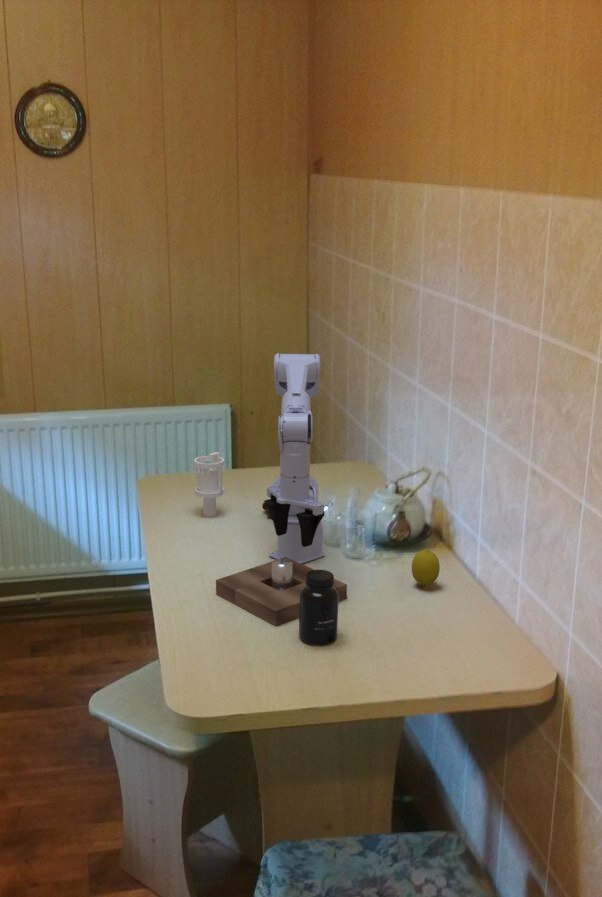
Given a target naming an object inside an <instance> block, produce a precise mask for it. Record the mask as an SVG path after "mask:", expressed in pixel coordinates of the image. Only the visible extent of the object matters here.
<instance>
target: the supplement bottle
mask: <svg viewBox="0 0 602 897" xmlns="http://www.w3.org/2000/svg"><path fill="white" fill-rule="evenodd" d="M334 576H335V575H334V573H333V572H331V571H329V570H325V569H314V570H312V571H309V572H308V573H307V575H306V586H305V587H304V588H303V589H302V590H301V592H300V610H299V619H298V636H299V639H301V640H302V641H303V642H304V643H306V644H309V645H314V646H324V645H330V644H332V643H333V642H334V641H335V640H336V639H337V636H338V622H339V602H340V601H339V594H338V591H337V590H336V589H335V588H334V587H333V586H334V579H335V578H334Z"/></svg>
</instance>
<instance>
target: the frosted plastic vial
mask: <svg viewBox="0 0 602 897" xmlns="http://www.w3.org/2000/svg"><path fill="white" fill-rule="evenodd" d="M271 562H272V588H274V589H276V590H278V591H282V590H285V589H288V588H290V587H292V561H290V560H288V559H273V560H272V561H271Z"/></svg>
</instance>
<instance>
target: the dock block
mask: <svg viewBox="0 0 602 897" xmlns="http://www.w3.org/2000/svg"><path fill="white" fill-rule="evenodd" d="M281 559H288V560H290V561H292V587H290V588H288V589H285V590H282V591H278V590H276V589H274V588H272V561H269V562H267V563H263V564H260V565H257V566H254V567H251V568H248V569H245V570H242V571H239V572H236V573H233V574H230V575H227V576H224V577H221V578H218V579H215V595H217V596H219V597H221V599H224V600H227V601H228V602H231V603H232V604H233V605H235V606H237V607H239V608H241V609H243V610H245V611H247V612H248V613H251V614H253V615H254V616H256V617H257V618H260V619H261V620H263V621H265V622H267V623H270V624H271V625H273V626H274V627H278V626H281V625H283V624H285V623H288V622H290V621H293V620H296V619H298V618H299V610H300V592H301V590H302V589H303V588H304V587H305V586H306V575H307V573H308V572H309V571H312V570H315V569H314V568H311V567H309V566H307V565H305V564H304V563H302V564H301V563H298V562H296V561H294V560H292V559H289V558H287V557H284V558H281ZM333 587H334V588H335V589H336V590H337V591H338V594H339V602H341V601H345V600H346V599H348V597H347V596H348V594H347V592H348V584H347V583H345V582H343V581H340V580H338V579H336V578H334V586H333Z"/></svg>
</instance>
